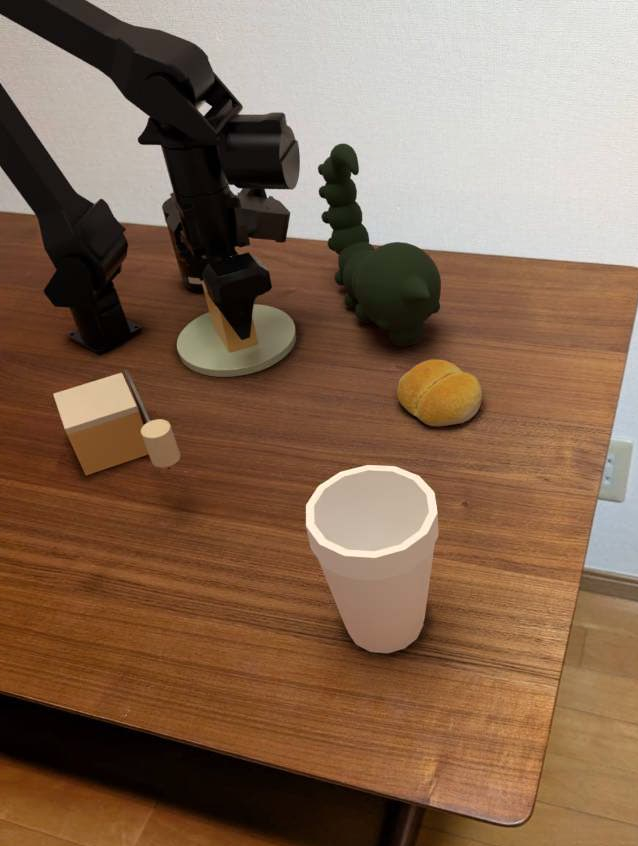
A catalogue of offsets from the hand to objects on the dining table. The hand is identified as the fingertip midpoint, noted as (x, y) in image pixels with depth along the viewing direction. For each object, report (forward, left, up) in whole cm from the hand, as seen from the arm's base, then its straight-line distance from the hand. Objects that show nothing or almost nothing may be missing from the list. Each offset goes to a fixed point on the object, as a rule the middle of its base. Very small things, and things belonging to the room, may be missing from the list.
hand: (232, 319), depth 96 cm
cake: (+3, -21, -3) cm, 21 cm away
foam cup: (+41, -22, -3) cm, 47 cm away
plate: (0, 0, -3) cm, 3 cm away
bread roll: (+27, +4, -3) cm, 27 cm away
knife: (+9, -19, -3) cm, 22 cm away
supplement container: (-14, +8, -3) cm, 16 cm away
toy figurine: (+11, +14, -3) cm, 18 cm away
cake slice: (0, 0, -2) cm, 2 cm away
